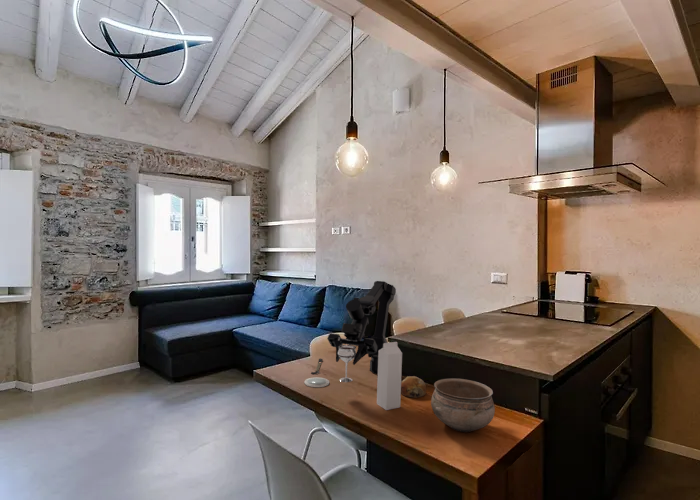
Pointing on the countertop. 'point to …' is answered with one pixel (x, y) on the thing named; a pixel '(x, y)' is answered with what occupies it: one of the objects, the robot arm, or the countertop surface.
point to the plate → (316, 382)
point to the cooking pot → (463, 404)
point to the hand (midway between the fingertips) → (345, 362)
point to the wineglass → (346, 357)
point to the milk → (389, 376)
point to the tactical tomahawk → (317, 367)
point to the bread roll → (413, 387)
